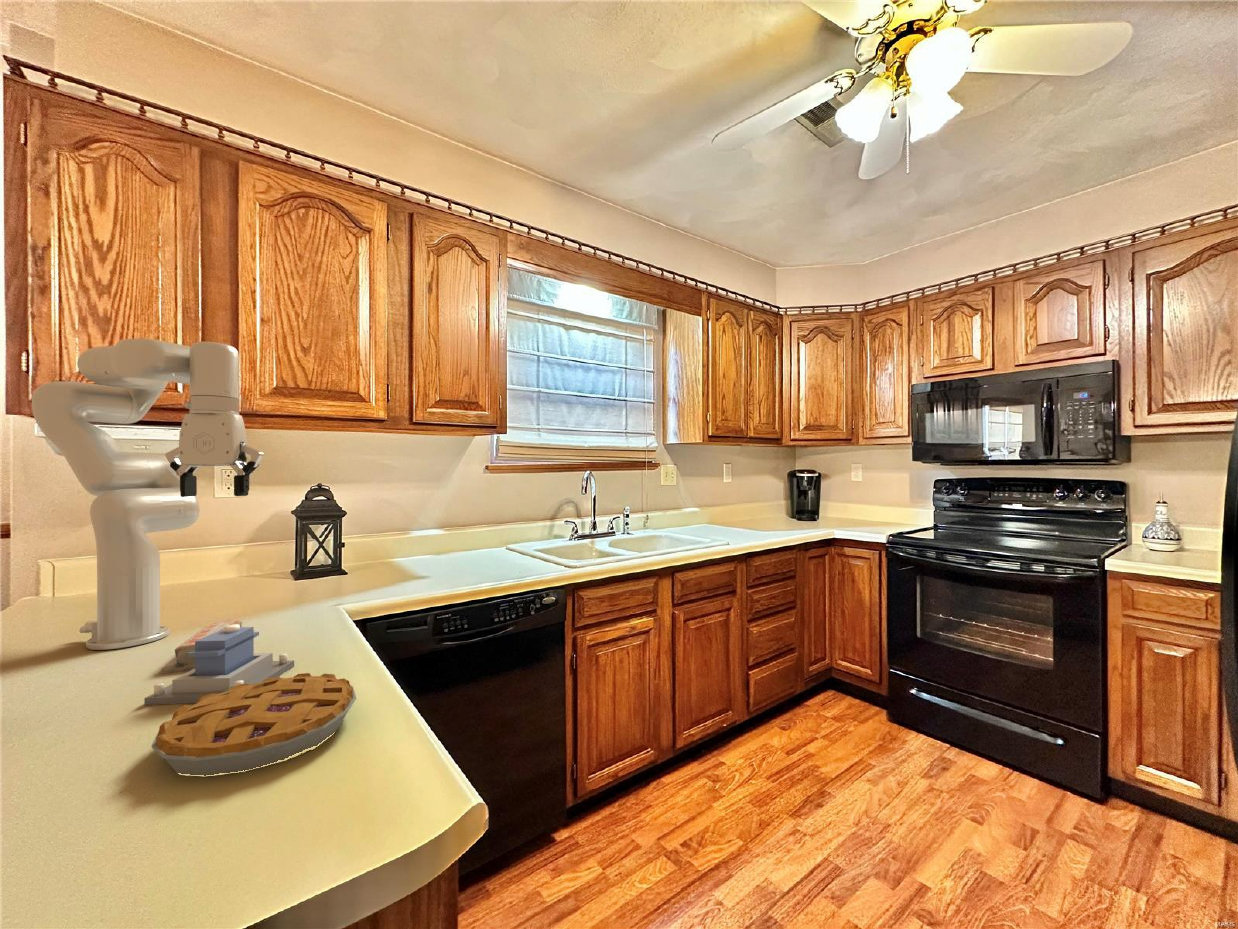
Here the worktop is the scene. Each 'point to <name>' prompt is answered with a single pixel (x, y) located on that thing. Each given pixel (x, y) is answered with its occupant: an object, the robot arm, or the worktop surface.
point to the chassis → (218, 680)
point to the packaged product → (182, 651)
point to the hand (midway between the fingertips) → (215, 496)
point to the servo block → (224, 650)
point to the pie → (254, 724)
